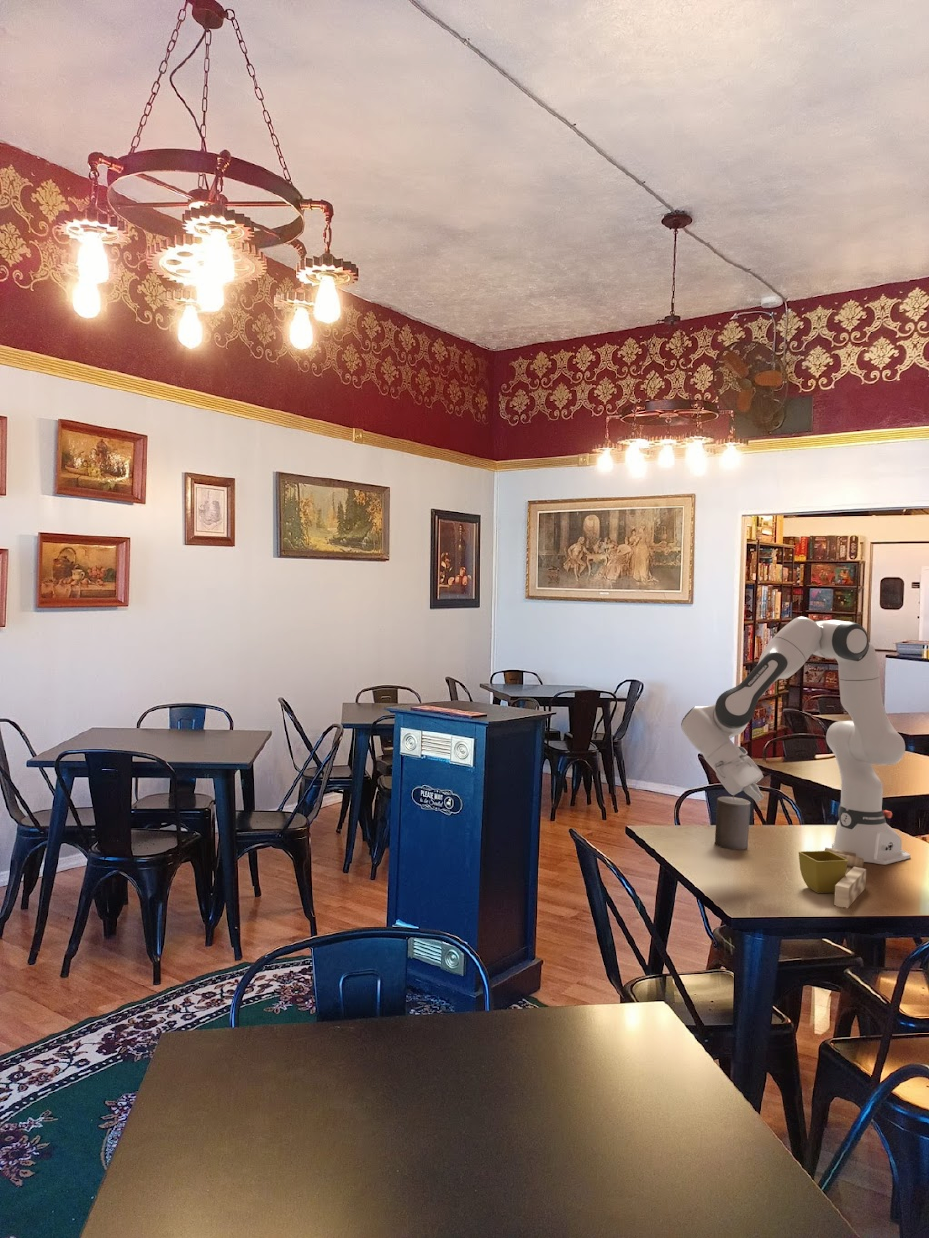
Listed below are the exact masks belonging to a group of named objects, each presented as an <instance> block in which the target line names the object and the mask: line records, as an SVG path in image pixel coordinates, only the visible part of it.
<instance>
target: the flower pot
mask: <svg viewBox="0 0 929 1238" xmlns="http://www.w3.org/2000/svg"><path fill="white" fill-rule="evenodd" d="M798 862H799V869H800V874H801V877H802V879H803V882H804V884H805V885H806V887H807V888H809V889H810V890H812V891H814V892H815V893H817V894H827V893H828V894H830V893H834V894H835V885H836V884H837V883H838V882H839V881H840V880H841V879H842V878H843V877H844V876H845V875H846V874H847V873H846V872H847V867H848V866H847V863H848V860H846V859H844V858H842V857H840V856H838V855H836V854H834V853H832V852H830V851H825V850H812V851H808V850H807V851H804V850H803V851H798Z"/></svg>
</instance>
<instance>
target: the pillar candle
mask: <svg viewBox="0 0 929 1238" xmlns="http://www.w3.org/2000/svg"><path fill="white" fill-rule="evenodd" d="M750 816H751V801H749V800H748V799H745V798H741V797H735V795H732V796H719V797H717V801H716V817H715V819H716V820H715V832H714V833H715V834H714V835H715V837H714V845H715V844H716V846H717V845H718V846H717V847H719V846H720V848H723V849H726V850H727V849H728V850H734V849H742V850H746V848H747V849H748V846H749V832H750V831H749V830H750V819H751V818H750Z"/></svg>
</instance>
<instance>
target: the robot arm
mask: <svg viewBox="0 0 929 1238" xmlns="http://www.w3.org/2000/svg"><path fill="white" fill-rule="evenodd" d="M811 656H813V657H821V658H825V659H831V660H832V659H835V660H836V662H837V664H838V685H839V687H838V688H839V697H840V704H841V706H842V708H843V709H844V710H845V711H846V712H847V714H848V715H849V716H850V718H851V720H839V721H835V722H833V723H832V724H830V725H829V727H828V728H827V731H826V734H825V735H826V736H825V741H826V744H827V746H828V747H829V749H830V751H832V754H833V755H834V757H835V760H836V762H837V765H838V770H839V773H840V775H839V776H840V780H841V783H840V788H841V789H840V804H839V806H838V809H837V810H838V811H837V812H838V814H837V815H838V821H837V823H836V824H837V825H836V829H835V836H834V842H832V843H831V849H836V850H841V851H846V852H852V853H856V857H859V858H863V859H864V863H872V864H878V865H883V866H885V865H889V864H892V863H896V862H900V861H904V860H908V859H910V858H911V854H910V853H909V852H907V851H905V850H903V849H902V847H903V846H902V843H903V842H902V838H901V836H900V835H899V834H898V833H897V832H896V831H895V830H894V829H893V828H892V827H891V826H890V825H889V824H888V823H887V821H886V818H887V819H892V817H893V813H892V811H890V810H887V809H885V810H884V809H882V806H883V793H884V792H883V790H884V785H883V783H882V781H881V779H880V778H879V776H878V775H877V773H876V772H875V770H874V766H873V765H876V766H894V765H896V764H898V763H899V762H901V760H902V759H903V758H904V755H905V751H906V743H905V740H904V738H903V737H902V735H901V734H899V732H898V731H897V730H896V728H895V727H894V726H893V725H892V723H891V720H890V719H889V717H888V714H887V712H886V709H885V705H884V703H883V702H884V701H883V694H882V685H881V673H880V672H881V671H880V666H879V661H878V656H877V653H876V649H875V647H874V645H873V644H872V643H871V642H870V638H869V635H868V632H867V631H866V629H865V628H864V627H863V626H862V625H861V624H859V623H857V622H854V621H844V620H839V619H830V620H828V619H827V620H819V619H816V620H813V619H811V618H809V617H805V616H798V617H795V618H793V619H792V620H790V622H788V623H787V624H785V625H784V626H783V627H782V628H781V629H780V630H779V631H778V632H777V633H776V634H775V635H774V636H773V637H772V638H771V639H770V640H769V642H768V643H767V645H766V646H765V648H764V650H763V651H762V652H761V655H760V656H759V660H758V663H757V665H756V666H755V667H754V668H753V669H752V670H751V671H750V673H749V674H748V675H747V676H746V677H744V679H743V680H742V681H741V683H739V684H738V685H736V686H734V687H732V688H729V689H728V690H725V691H724V692H723V693H721V694H720V695H719V696H718V697H717V699H716V702H715V704H711V705H707V706H706V705H705V706H698V705H696V706H693V707H692V708H691V709H690V710H689V711H688V712H687V713H686V714H685V716H684V717H683V718H682V720H681V723H680V728H681V730H682V732H683V734H684V735H685V737H686V739H687V740H688V741H689V742H690V743H691V744H692V746H693V747H694V748H695V749H696V750H697V751H699V752H700V753H701V755H702V756H703V759H704V760H705V761H706V763H707V764H708V765H709V766H710V767H711V768H712V770H713V771H714V772H715V775H716V778H717V779H718V781H719V782H720V783H721V784H722V786H723V787H724V788H725V790H726V791H727V793H728V794H730V795H732V796H735V795H737V794H738V793H741V792H744V793H745V794H746V795H747V796H748V797H750V798H752V799H753V800H754V802H756V803H759V802H760V801H762V800H763V799H764V798H765V795H764V794H763V793H762V792H761V790H760V788H759V786H758V785H759V784H757V783H758V782H760V781H761V780H762V779H763V778H764V775H763V772H762V770H761V769H760V767H759V766H758V765H757V764H756V763H755V761H754V760H753V759H752V758H751V757H750V756H749V755H748V751H747V750H746V749H745V747H743V746H739V745H737V744H735V743H734V742H733V741H732V740H731V739H732V738H733V737H736V736H738V735H740V734H742V733H743V732H744V731H745V730H746V728H747V726H748V725H749V722H750V721H751V720H752V719H753V717H754V715H755V712H756V708H757V703H758V701H759V699H761V698H762V697H763V696H764V694H765V693H766V692H767V690H769V689H770V687H771V686H772V685H773V684H774V683H775V682H776V681H777V680H787V679H789V678H790V677H792V676H793V675H795V673H797V672H798V671H799V670H800V669H801V668H802V667H803V666H804V664H805V663H806V662H808V660H809V658H810V657H811Z"/></svg>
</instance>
